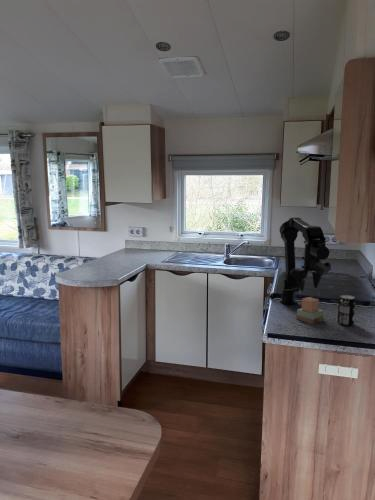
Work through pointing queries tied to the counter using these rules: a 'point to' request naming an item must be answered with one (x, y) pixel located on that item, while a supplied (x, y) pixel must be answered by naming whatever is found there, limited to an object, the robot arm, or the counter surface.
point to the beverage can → (346, 310)
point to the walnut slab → (309, 319)
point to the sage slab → (310, 314)
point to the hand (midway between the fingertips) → (308, 289)
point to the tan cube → (310, 304)
